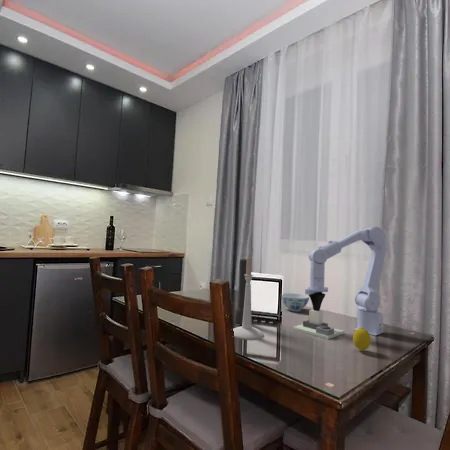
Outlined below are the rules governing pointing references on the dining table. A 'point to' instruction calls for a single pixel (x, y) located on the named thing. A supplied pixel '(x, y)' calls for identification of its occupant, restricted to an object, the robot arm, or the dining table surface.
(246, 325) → the candlestick
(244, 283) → the flashlight
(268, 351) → the dining table surface
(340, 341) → the dining table surface
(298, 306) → the chinaware
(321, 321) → the plug
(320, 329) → the board
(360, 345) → the lemon
